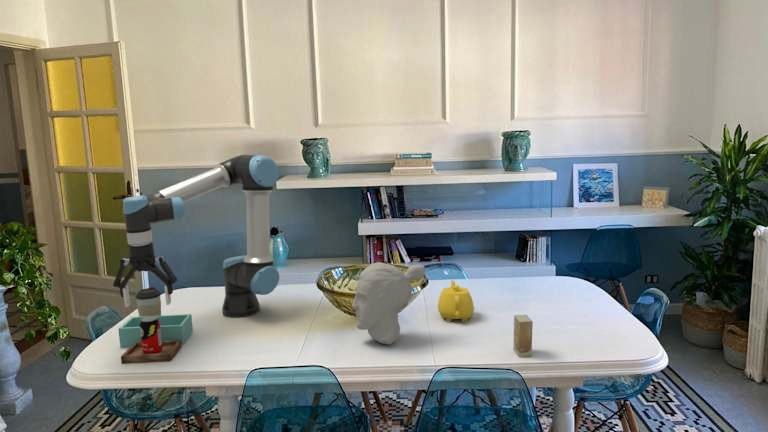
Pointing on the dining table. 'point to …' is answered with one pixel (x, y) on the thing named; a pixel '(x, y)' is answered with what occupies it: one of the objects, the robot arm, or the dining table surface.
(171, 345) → the tray
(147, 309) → the coffee cup
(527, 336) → the skincare box
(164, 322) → the teal open box
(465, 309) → the teapot
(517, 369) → the dining table surface
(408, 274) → the bust
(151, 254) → the robot arm
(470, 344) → the dining table surface
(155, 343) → the beverage can
